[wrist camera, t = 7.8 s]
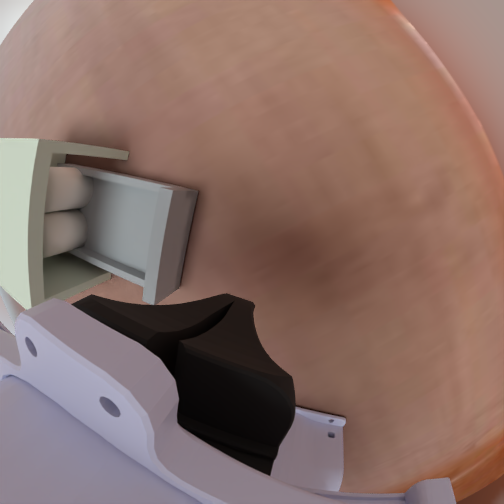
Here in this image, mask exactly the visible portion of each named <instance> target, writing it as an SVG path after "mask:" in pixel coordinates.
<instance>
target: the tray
mask: <svg viewBox="0 0 504 504" xmlns="http://www.w3.org/2000/svg"><path fill="white" fill-rule="evenodd" d="M197 195H198V191H197V190H193V189H189V188H185V187H180V186H176V185H172V184H168V183H163V182H159V181H154V180H150V179H145V178H141V177H136V176H132V175H127V174H122V173H117V172H112V171H107V170H102V169H97V168H92V167H86V166H81V165H75V164H62V163H57V167H50V169H49V176H48V183H47V191H46V200H45V211H44V226H43V258H46V257H50V256H53V255H57V254H60V253H63V252H69V253H71V254H73V255H75V256H77V257H79V258H81V259H83V260H85V261H87V262H89V263H91V264H93V265H96V266H98V267H100V268H102V269H104V270H106V271H108V272H111V273H113V274H115V275H117V276H119V277H122V278H124V279H126V280H128V281H131V282H133V283H135V284H137V285H140V286H142V287H144V290H143V300H142V301H144V302H147V303H149V304H151V305H156V304H157V303H159V302H160V301H162V300H163V299H164V298H166V297H167V296H169V295H170V294H171V293H173V292H174V291H176V290H177V289H179V286H180V280H181V274H182V269H183V263H184V258H185V252H186V247H187V242H188V237H189V232H190V227H191V223H192V218H193V213H194V209H195V204H196V200H197ZM45 212H50V213H45Z"/></svg>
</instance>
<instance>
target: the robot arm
mask: <svg viewBox="0 0 504 504" xmlns="http://www.w3.org/2000/svg"><path fill="white" fill-rule="evenodd" d="M254 308H255V305H254V303H253V302H251V301H248V300H245V299H242V298H239V297H236V296H233V295H230V294H227V293H226V294H221V295H217V296H213V297H210V298H206V299H202V300H198V301H193V302H187V303H182V304H173V305H141V304H132V303H125V302H119V301H114V300H110V299H107V298H103V297H99V296H95V295H92V294H91V295H89V296H87V297H85V298H83V299H81V300H79V301H77V302H75V303H73V304H69V303H68V302H66V301H63V300H60V299H56V298H52V299H50V300H48V301H46V302H43V303H41V304H39V305H37V306H34V307H32V308H30V309H28V310H26V311H23V312H21V313H20V314H19V316H18V317H17V318H16V320H15V336H14V335H13V334H12V333H11V332H10V331H9V330H8V329H7V328H6V327H5V326H4V325H3V324H2V323H1V322H0V504H456V501H455V497H454V493H453V490H452V486H451V482H450V479H449V478H438V479H427V480H422V481H420V482H418V483H416V484H414V485H413V486H412V487H411V488H409V489H408V490H407V491H406V492H405V493H395V494H368V493H348V492H339V489H340V486H341V483H342V479H343V472H344V452H343V426H344V425H345V423H346V419H345V418H344V417H339V416H334V415H329V414H325V413H320V412H316V411H312V410H307V409H303V408H299V407H296V403H295V390H294V384H293V379H292V376H291V375H289V374H288V373H287V372H285V371H284V370H283V369H282V368H280V367H279V366H278V365H277V364H276V363H275V362H274V361H273V360H272V359H271V358H270V357H269V355H268V354H267V353H266V351H265V350H264V348H263V347H262V345H261V343H260V341H259V338H258V336H257V333H256V329H255V325H254V318H253V311H254ZM331 419H333V420H331Z"/></svg>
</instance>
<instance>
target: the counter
mask: <svg viewBox="0 0 504 504" xmlns="http://www.w3.org/2000/svg"><path fill="white" fill-rule="evenodd" d="M66 154H74V155H85V156H95V157H104V158H113V159H121V160H128V155H129V151H124V150H118V149H112V148H106V147H100V146H93V145H86V144H79V143H71V142H63V141H54V140H45V139H27V138H0V286H1V287H2V288H3V289H4V290H5V291H6V292H7V293H8V294H10V295H11V296H12V297H13V298H14V299H15V300H16V301H17V302H18V303H19V304H20V305H21V306H23V307H24V308H25V309H26V310H28V309H30V308H32V307H34V306H37V305H39V304H41V303H43V302H46V301H48V300H50V299H52V298H56V299H60V300H65V299H68V298H70V297H72V296H74V295H76V294H78V293H81V292H83V291H85V290H87V289H89V288H91V287H94V286H96V285H98V284H100V283H103V282H105V281H107V280H109V279H111V272H108V271H106V270H104V269H102V268H100V267H98V266H96V265H93V264H91V263H89V262H87V261H85V260H83V259H81V258H79V257H77V256H75V255H73V254H71V253H69V252H63V253H60V254H57V255H53V256H50V257H46V258H43V226H44V211H45V200H46V191H47V183H48V176H49V169H50V167H57V163H62V164H65V160H66ZM45 213H50V212H45Z"/></svg>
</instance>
